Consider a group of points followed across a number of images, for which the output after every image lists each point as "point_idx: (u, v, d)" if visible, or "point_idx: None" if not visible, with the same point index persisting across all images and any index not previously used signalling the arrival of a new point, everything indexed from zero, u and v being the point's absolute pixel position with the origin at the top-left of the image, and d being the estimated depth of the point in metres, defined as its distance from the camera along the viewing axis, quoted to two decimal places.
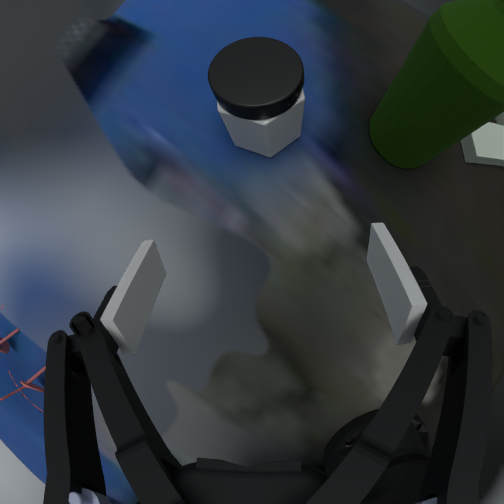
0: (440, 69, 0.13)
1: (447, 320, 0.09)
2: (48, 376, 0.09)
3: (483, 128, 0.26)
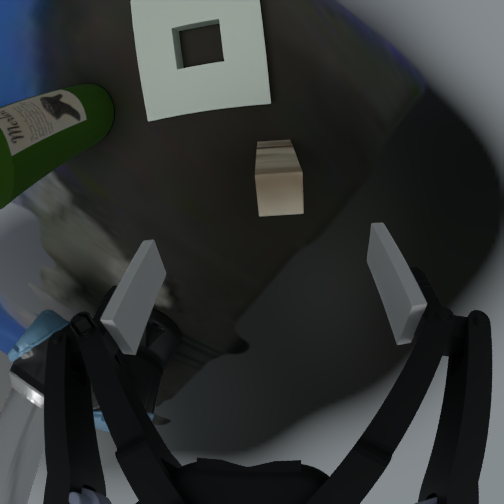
0: None
1: (447, 320, 0.09)
2: (48, 376, 0.09)
3: (164, 82, 0.27)
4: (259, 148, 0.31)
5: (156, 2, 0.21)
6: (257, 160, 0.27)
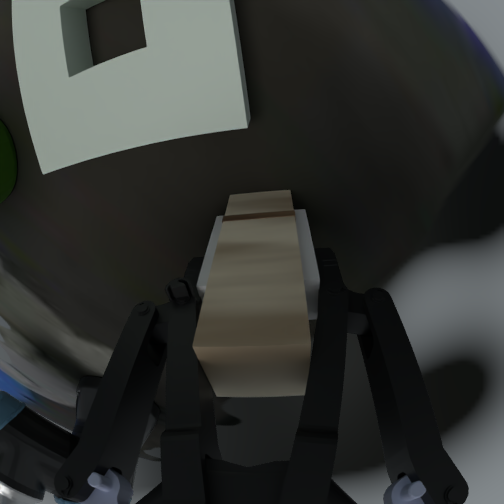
0: None
1: (340, 293, 0.12)
2: (119, 347, 0.11)
3: (53, 104, 0.12)
4: (229, 218, 0.16)
5: None
6: (213, 270, 0.13)
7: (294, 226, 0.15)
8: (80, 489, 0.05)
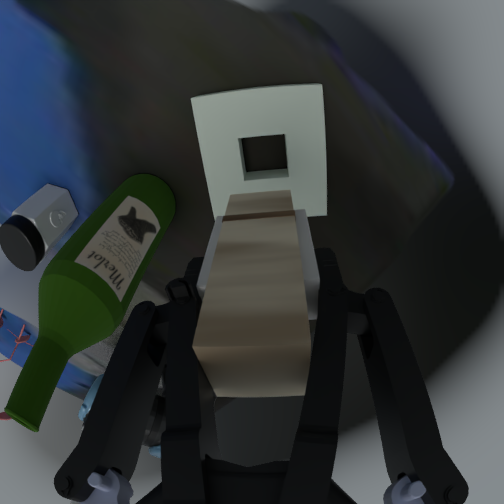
0: None
1: (340, 293, 0.12)
2: (119, 347, 0.11)
3: (231, 191, 0.34)
4: (228, 218, 0.16)
5: (220, 106, 0.28)
6: (213, 270, 0.13)
7: (294, 226, 0.15)
8: (80, 489, 0.05)
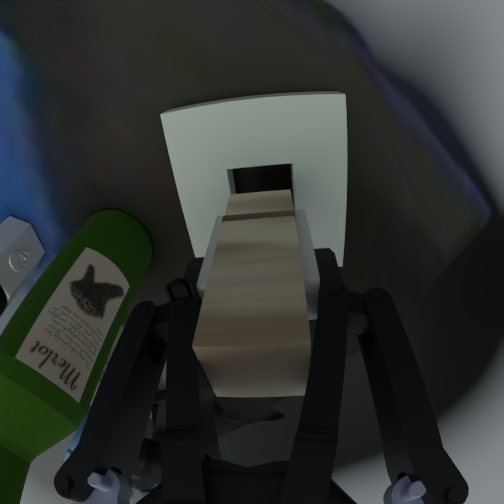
0: None
1: (340, 293, 0.12)
2: (119, 347, 0.11)
3: None
4: (228, 217, 0.16)
5: (200, 124, 0.20)
6: (213, 270, 0.13)
7: (294, 226, 0.15)
8: (80, 489, 0.05)
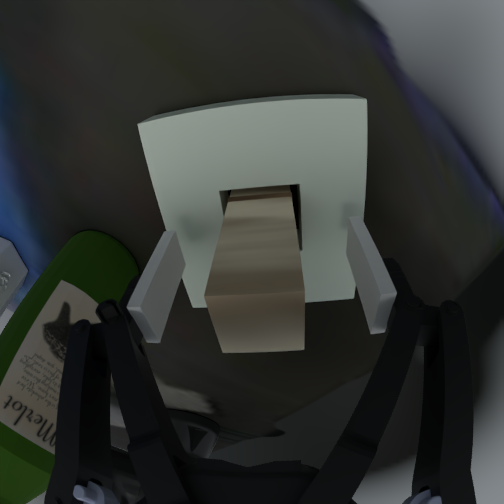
0: None
1: (417, 308, 0.10)
2: (67, 365, 0.10)
3: None
4: (233, 198, 0.18)
5: (186, 136, 0.16)
6: (221, 239, 0.15)
7: (291, 204, 0.17)
8: None
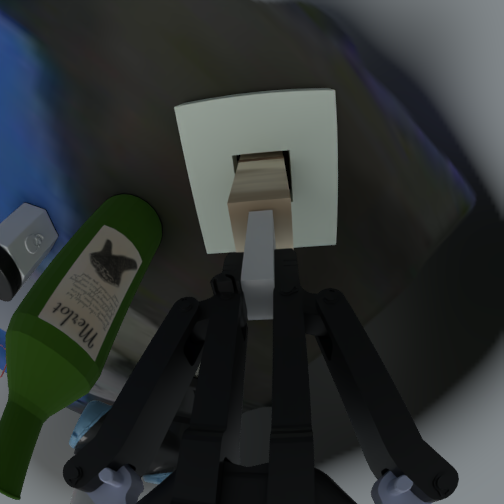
0: None
1: (293, 292, 0.12)
2: (155, 343, 0.11)
3: (225, 218, 0.29)
4: (242, 160, 0.25)
5: (209, 116, 0.23)
6: (235, 179, 0.22)
7: (283, 162, 0.24)
8: (89, 482, 0.06)
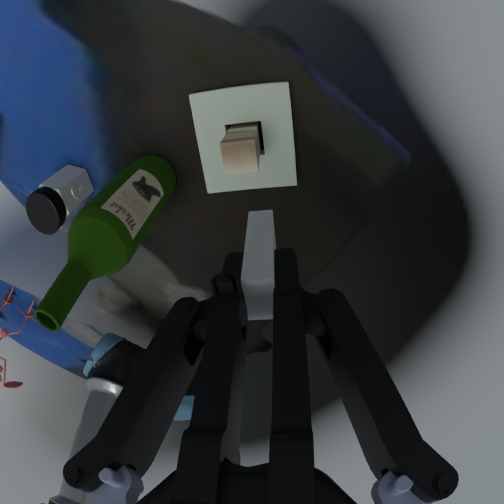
0: None
1: (293, 292, 0.12)
2: (155, 343, 0.11)
3: (220, 166, 0.42)
4: (231, 128, 0.39)
5: (211, 100, 0.36)
6: (225, 135, 0.35)
7: (256, 127, 0.37)
8: (89, 481, 0.06)
